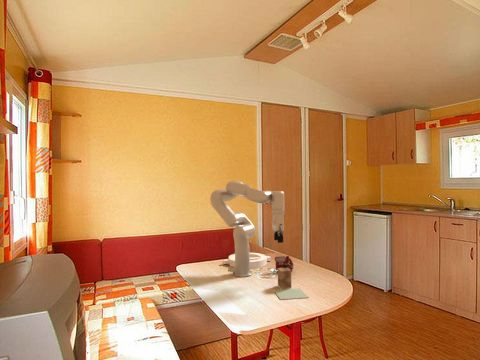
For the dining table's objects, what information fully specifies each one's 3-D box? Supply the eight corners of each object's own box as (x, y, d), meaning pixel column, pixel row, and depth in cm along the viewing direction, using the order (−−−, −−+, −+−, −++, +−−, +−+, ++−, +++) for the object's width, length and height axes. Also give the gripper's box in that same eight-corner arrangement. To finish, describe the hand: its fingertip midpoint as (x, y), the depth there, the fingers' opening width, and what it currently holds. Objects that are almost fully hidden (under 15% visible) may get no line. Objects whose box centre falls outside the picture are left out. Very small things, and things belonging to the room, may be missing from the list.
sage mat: (280, 299, 148) (280, 299, 148) (273, 290, 161) (273, 290, 161) (308, 297, 150) (308, 297, 150) (299, 288, 163) (299, 288, 163)
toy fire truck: (295, 272, 193) (295, 256, 193) (277, 274, 190) (276, 257, 191) (291, 269, 200) (291, 254, 200) (273, 271, 197) (273, 255, 197)
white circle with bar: (272, 261, 223) (272, 255, 223) (255, 271, 198) (255, 263, 199) (240, 257, 237) (240, 251, 237) (221, 265, 213) (221, 258, 213)
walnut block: (280, 289, 163) (280, 271, 163) (277, 285, 169) (277, 268, 169) (291, 288, 163) (291, 270, 164) (288, 285, 169) (287, 267, 170)
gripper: (268, 210, 185) (268, 238, 185) (276, 213, 168) (276, 244, 168) (280, 210, 187) (280, 238, 186) (288, 212, 169) (289, 244, 169)
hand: (278, 241), depth 177 cm, fingers open, 7 cm apart
